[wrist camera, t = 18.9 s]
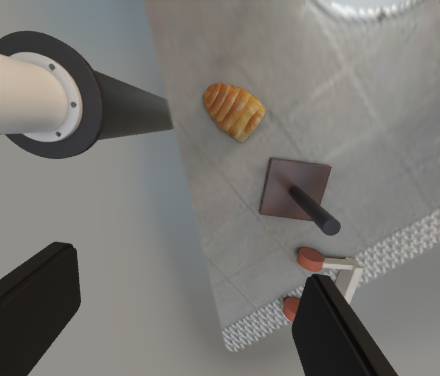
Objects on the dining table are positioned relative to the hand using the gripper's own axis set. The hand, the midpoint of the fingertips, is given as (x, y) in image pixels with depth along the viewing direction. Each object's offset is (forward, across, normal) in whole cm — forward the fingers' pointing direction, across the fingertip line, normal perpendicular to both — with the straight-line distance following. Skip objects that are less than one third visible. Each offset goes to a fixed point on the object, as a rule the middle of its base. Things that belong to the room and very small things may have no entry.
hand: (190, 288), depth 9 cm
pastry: (+28, -2, -8) cm, 30 cm away
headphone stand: (+28, -14, +3) cm, 32 cm away
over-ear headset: (+26, -17, +21) cm, 38 cm away
